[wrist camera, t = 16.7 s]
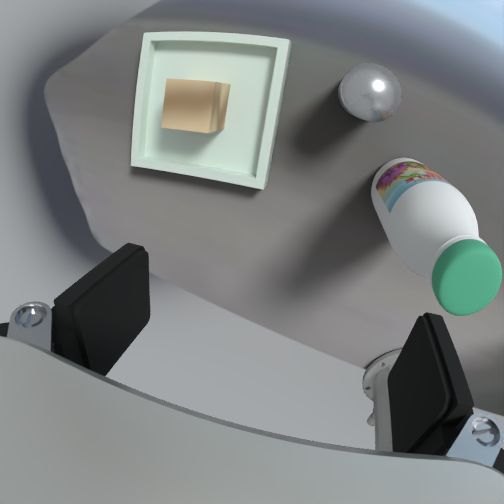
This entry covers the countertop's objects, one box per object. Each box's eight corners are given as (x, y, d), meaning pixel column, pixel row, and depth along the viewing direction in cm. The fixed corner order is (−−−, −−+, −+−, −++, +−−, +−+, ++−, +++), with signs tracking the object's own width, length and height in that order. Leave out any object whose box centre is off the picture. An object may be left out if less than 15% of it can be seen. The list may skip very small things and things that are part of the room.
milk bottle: (432, 223, 33) (505, 333, 16) (369, 223, 35) (403, 341, 18) (435, 157, 30) (535, 223, 13) (369, 156, 32) (420, 221, 14)
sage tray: (267, 183, 36) (263, 189, 34) (141, 161, 38) (130, 165, 35) (291, 44, 28) (289, 39, 26) (154, 35, 30) (144, 32, 28)
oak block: (223, 128, 33) (208, 133, 29) (181, 123, 34) (160, 127, 29) (230, 84, 31) (215, 81, 26) (186, 80, 31) (166, 78, 27)
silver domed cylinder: (379, 123, 30) (395, 129, 23) (333, 111, 31) (336, 113, 24) (387, 79, 28) (406, 73, 21) (341, 67, 28) (347, 56, 21)
